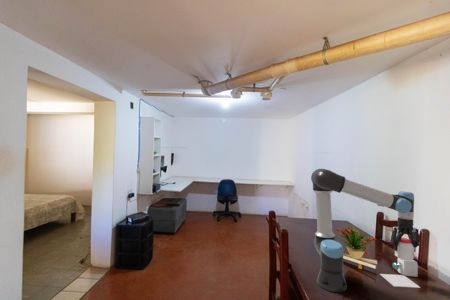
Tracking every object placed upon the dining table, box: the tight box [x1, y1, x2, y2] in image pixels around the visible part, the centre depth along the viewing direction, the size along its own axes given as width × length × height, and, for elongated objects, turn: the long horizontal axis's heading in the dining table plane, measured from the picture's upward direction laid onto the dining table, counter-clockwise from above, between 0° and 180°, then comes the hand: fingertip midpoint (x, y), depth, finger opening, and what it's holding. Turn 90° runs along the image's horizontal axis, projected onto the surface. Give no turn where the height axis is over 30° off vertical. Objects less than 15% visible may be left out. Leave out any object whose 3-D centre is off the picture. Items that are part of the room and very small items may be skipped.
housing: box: [397, 257, 419, 277], centre depth 151 cm, size 8×6×9 cm
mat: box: [379, 273, 421, 289], centre depth 142 cm, size 14×14×1 cm
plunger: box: [391, 262, 403, 271], centre depth 151 cm, size 10×4×4 cm, turn 86°
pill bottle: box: [397, 237, 414, 261], centre depth 143 cm, size 8×8×11 cm
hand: (404, 256), depth 143 cm, fingers closed on pill bottle, 8 cm apart
